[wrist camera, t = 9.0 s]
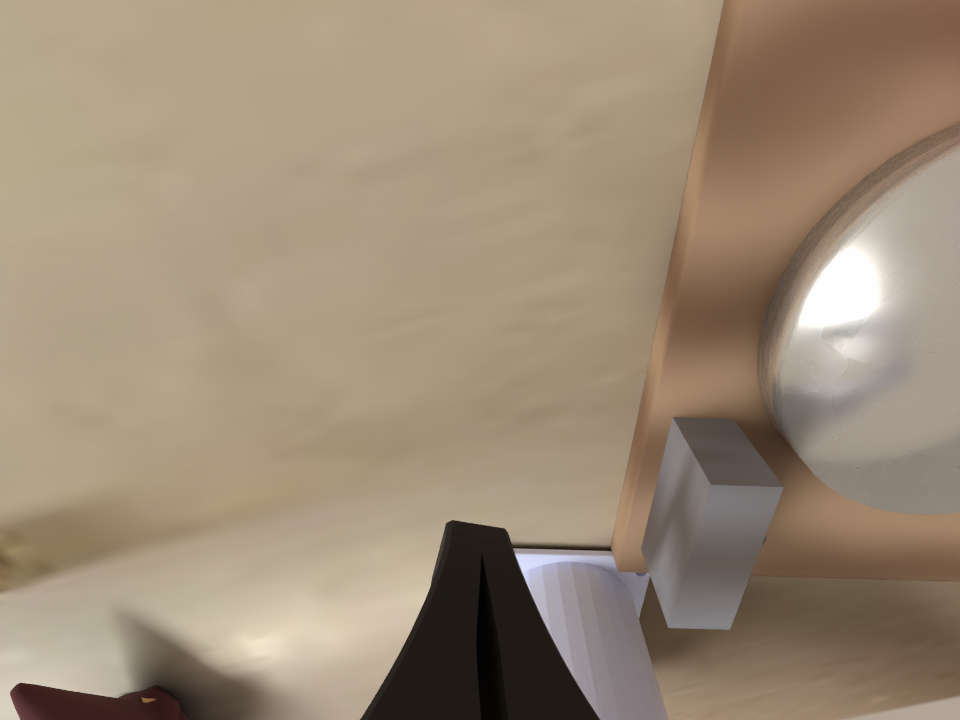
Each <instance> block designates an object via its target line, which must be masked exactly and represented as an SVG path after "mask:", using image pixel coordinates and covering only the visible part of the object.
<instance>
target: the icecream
mask: <svg viewBox="0 0 960 720" xmlns="http://www.w3.org/2000/svg"><path fill="white" fill-rule="evenodd" d="M10 695H11V698H12V701H13V704H14V706H15V709H16V711H17V713H18V715H19V717H20V720H188V719H187V716H186V715H185V713H184V712H183V711H182V710H181V709H180V704H179V702H178V701H177V699H175V698H174V697H172V696H170V695H169V694H167V693H166V692H165V691H163V690H162V689H160V688H159V687H157V686H153V687H151V688H148V689H146V690H143V691H140V692H136V693H131V694H127V695H125V696H122V697H119V698H112V697H106V696H99V695H93V694H86V693H80V692H73V691H67V690H61V689H56V688H51V687H45V686H40V685H33V684H25V683H19V684H17V685H16V686H15V687H14V688H13V689H12V690H11V692H10Z"/></svg>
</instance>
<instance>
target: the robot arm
mask: <svg viewBox="0 0 960 720" xmlns="http://www.w3.org/2000/svg"><path fill="white" fill-rule="evenodd" d="M649 578H650V574H649V573H635V572H618V571H617V567H616V564H615V560H614V557H613V553H612V551H588V550H553V549H518V548H513V547H512V544H511V541H510V538H509V535H508V532H507V531H506V530H505V529H504V528H498V527H492V526H485V525H479V524H473V523H466V522H460V521H454V520H452V521H450V522H448V523H446V526H445V530H444V534H443V538H442V542H441V546H440V550H439V553H438V557H437V561H436V565H435V569H434V573H433V577H432V582H431V587H430V590H429V592H428V595H427V597H426V600H425V602H424V604H423V606H422V608H421V611H420V613H419V615H418V617H417V619H416V622H415V624H414V626H413V628H412V630H411V632H410V634H409V636H408V638H407V640H406V642H405V644H404V646H403V648H402V650H401V652H400V654H399V655H398V657H397V659H396V661H395V663H394V665H393V666H392V668H391V670H390V672H389V673H388V675H387V677H386V679H385V680H384V682H383V684H382V685H381V687H380V689H379V690H378V692H377V694H376V695H375V697H374V699H373V700H372V702H371V704H370V705H369V707H368V708H367V710H366V712H365V713H364V715H363V716H362V718H361V719H360V720H668V716H667V713H666V709H665V706H664V703H663V699H662V696H661V693H660V689H659V686H658V682H657V679H656V676H655V672H654V669H653V666H652V662H651V659H650V655H649V652H648V649H647V645H646V642H645V639H644V635H643V632H642V628H641V625H640V622H639V617H640V613H641V609H642V605H643V601H644V598H645V594H646V590H647V586H648V582H649Z"/></svg>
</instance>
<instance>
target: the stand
mask: <svg viewBox="0 0 960 720" xmlns="http://www.w3.org/2000/svg"><path fill="white" fill-rule="evenodd" d="M959 123H960V0H724V4H723V9H722V14H721V19H720V24H719V29H718V33H717V38H716V43H715V48H714V53H713V57H712V62H711V67H710V72H709V77H708V82H707V86H706V91H705V96H704V101H703V106H702V110H701V115H700V120H699V125H698V130H697V134H696V139H695V144H694V149H693V154H692V159H691V163H690V168H689V173H688V178H687V183H686V187H685V192H684V197H683V202H682V207H681V212H680V216H679V221H678V226H677V231H676V236H675V240H674V245H673V250H672V255H671V260H670V264H669V269H668V274H667V279H666V284H665V289H664V293H663V298H662V303H661V308H660V313H659V317H658V322H657V327H656V332H655V337H654V342H653V346H652V351H651V356H650V361H649V366H648V370H647V375H646V380H645V385H644V390H643V395H642V399H641V404H640V409H639V414H638V419H637V423H636V428H635V433H634V438H633V443H632V447H631V452H630V457H629V462H628V467H627V472H626V476H625V481H624V486H623V491H622V496H621V500H620V505H619V510H618V515H617V520H616V525H615V529H614V534H613V539H612V544H611V550H612V553H613V557H614V560H615V564H616V567H617V571H618V572H635V573H649V574H650V577H651V580H652V582H653V585H654V588H655V591H656V594H657V597H658V600H659V603H660V606H661V609H662V611H663V614H664V617H665V620H666V623H667V626H668V628H684V629H724V630H730V629H731V626H732V623H733V621H734V618H735V615H736V613H737V610H738V607H739V605H740V602H741V599H742V597H743V594H744V592H745V589H746V586H747V584H748V581H749V578H750V576H781V577H817V578H854V579H890V580H927V581H960V513H951V514H936V515H922V514H904V513H897V512H890V511H884V510H880V509H876V508H873V507H869V506H865V505H863V504H860V503H858V502H855V501H853V500H851V499H848V498H846V497H844V496H843V495H841V494H839V493H838V492H836V491H834V490H833V489H831V488H829V487H828V486H827V485H826V484H825V483H823V482H822V481H821V480H820V479H819V478H818V477H817V476H815V475H814V474H813V472H812V471H811V470H810V469H809V468H808V467H807V465H806V464H805V463H804V462H803V461H802V459H801V458H800V457H799V456H798V455H797V453H796V452H795V451H794V450H793V449H792V448H791V446H790V445H789V444H788V443H787V442H786V440H785V439H784V438H783V437H782V435H781V434H780V433H779V432H778V430H777V429H776V428H775V426H774V424H773V423H772V421H771V419H770V417H769V415H768V413H767V412H766V409H765V406H764V403H763V400H762V397H761V394H760V389H759V382H758V376H757V349H758V343H759V337H760V330H761V326H762V322H763V319H764V316H765V313H766V309H767V306H768V303H769V301H770V298H771V296H772V294H773V292H774V289H775V287H776V285H777V283H778V280H779V278H780V276H781V275H782V273H783V271H784V270H785V268H786V266H787V265H788V263H789V261H790V259H791V258H792V256H793V254H794V253H795V251H796V250H797V249H798V247H799V246H800V245H801V243H802V242H803V241H804V239H805V238H806V237H807V235H808V234H809V233H810V231H811V230H812V228H813V227H814V226H815V225H816V224H817V223H818V222H819V221H820V220H821V218H822V217H823V216H824V215H825V214H826V213H827V212H828V211H829V210H830V209H831V208H832V206H833V205H834V204H835V203H836V202H837V201H839V200H840V199H841V198H842V197H843V196H844V195H845V194H846V193H847V192H849V191H850V190H851V189H852V188H853V187H854V186H855V185H856V184H857V183H859V182H860V181H861V180H862V179H863V178H865V177H866V176H868V175H869V174H870V173H872V172H873V171H874V170H876V169H877V168H878V167H880V166H881V165H882V164H884V163H885V162H886V161H888V160H889V159H891V158H893V157H894V156H896V155H898V154H899V153H901V152H903V151H904V150H906V149H908V148H909V147H911V146H913V145H914V144H916V143H918V142H919V141H921V140H923V139H926V138H928V137H930V136H932V135H934V134H936V133H938V132H940V131H943V130H945V129H947V128H949V127H951V126H954V125H957V124H959Z"/></svg>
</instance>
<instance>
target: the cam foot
mask: <svg viewBox="0 0 960 720" xmlns="http://www.w3.org/2000/svg"><path fill="white" fill-rule="evenodd" d="M757 376H758V382H759V389H760V394H761V397H762V400H763V403H764V406H765V409H766V412H767V413H768V415H769V417H770V419H771V421H772V423H773V424H774V426H775V428H776V429H777V430H778V432H779V433H780V434H781V435H782V437H783V438H784V439H785V440H786V442H787V443H788V444H789V445H790V446H791V448H792V449H793V450H794V451H795V452H796V453H797V455H798V456H799V457H800V458H801V459H802V461H803V462H804V463H805V464H806V465H807V467H808V468H809V469H810V470H811V471H812V472H813V474H814V475H815V476H817V477H818V478H819V479H820V480H821V481H822V482H823V483H825V484H826V485H827V486H828V487H829V488H831V489H833V490H834V491H836V492H838V493H839V494H841V495H843V496H844V497H846V498H848V499H851V500H853V501H855V502H858V503H860V504H863V505H865V506H869V507H873V508H876V509H880V510H884V511H890V512H897V513H904V514H922V515H936V514H951V513H960V123H959V124H957V125H954V126H951V127H949V128H947V129H945V130H943V131H940V132H938V133H936V134H934V135H932V136H930V137H928V138H926V139H923V140H921V141H919V142H918V143H916V144H914V145H913V146H911V147H909V148H908V149H906V150H904V151H903V152H901V153H899V154H898V155H896V156H894V157H893V158H891V159H889V160H888V161H886V162H885V163H884V164H882V165H881V166H880V167H878V168H877V169H876V170H874V171H873V172H872V173H870V174H869V175H868V176H866V177H865V178H863V179H862V180H861V181H860V182H859V183H857V184H856V185H855V186H854V187H853V188H852V189H851V190H850V191H849V192H847V193H846V194H845V195H844V196H843V197H842V198H841V199H840V200H839V201H837V202H836V203H835V204H834V205H833V206H832V208H831V209H830V210H829V211H828V212H827V213H826V214H825V215H824V216H823V217H822V218H821V220H820V221H819V222H818V223H817V224H816V225H815V226H814V227H813V228H812V230H811V231H810V233H809V234H808V235H807V237H806V238H805V239H804V241H803V242H802V243H801V245H800V246H799V247H798V249H797V250H796V251H795V253H794V254H793V256H792V258H791V259H790V261H789V263H788V265H787V266H786V268H785V270H784V271H783V273H782V275H781V276H780V278H779V280H778V283H777V285H776V287H775V289H774V292H773V294H772V296H771V298H770V301H769V303H768V306H767V309H766V313H765V316H764V319H763V322H762V326H761V330H760V337H759V343H758V349H757Z"/></svg>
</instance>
